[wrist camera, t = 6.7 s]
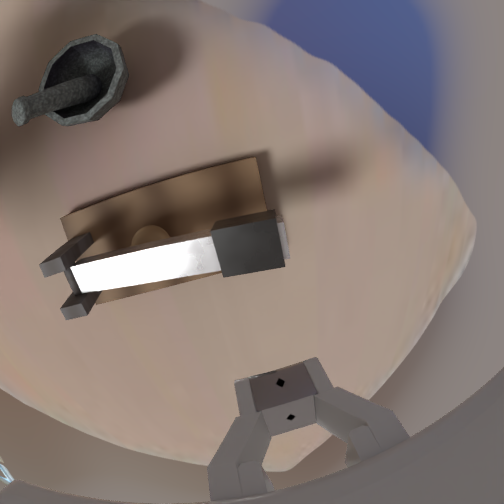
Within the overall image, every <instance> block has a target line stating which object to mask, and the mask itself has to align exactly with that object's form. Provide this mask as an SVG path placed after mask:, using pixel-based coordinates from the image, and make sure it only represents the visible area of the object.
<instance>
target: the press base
mask: <svg viewBox="0 0 504 504" xmlns="http://www.w3.org/2000/svg"><path fill="white" fill-rule="evenodd" d="M263 211H267V208H266V203H265V198H264V193H263V189H262V184H261V179H260V175H259V170H258V166H257V161H256V157H250V158H245V159H241V160H237V161H233V162H228V163H224V164H220V165H216V166H212V167H208V168H205V169H201V170H197V171H194V172H190V173H186V174H183V175H179V176H176V177H173V178H169V179H166V180H163V181H159V182H156V183H153V184H150V185H147V186H144V187H141V188H138V189H135V190H132V191H129V192H126V193H123V194H120V195H117V196H114V197H112V198H109V199H106V200H103V201H101V202H98V203H95V204H93V205H90V206H88V207H85V208H83V209H80V210H78V211H75V212H73V213H70V214H68V215H66V216H64V217H62V218H61V222H62V225H63V228H64V230H65V233H66V236H67V239H68V242H66V243H65V244H64V245H63V246H61V247H60V248H59V249H58V250H56V251H55V252H54V253H53V254H51V255H50V256H49V257H48V258H47V259H45V260H44V261H43V262H42V263H41V264H39V265H40V268H41V270H42V272H43V275H44V277H48V276H51V275H54V274H57V273H60V272H63V271H64V273H65V276H66V278H67V280H68V282H69V284H70V287H71V289H72V291H73V292H72V294H71V295H70V296H69V298H68V299H67V300H66V302H65V303H64V304H63V306H62V307H61V308H60V310H61V311H62V313H63V315H64V317H65V319H66V320H69V319H73V318H78V317H82V316H87V315H88V314H89V312H90V310H91V309H92V307H93V305H94V304H95V303H96V305H97V304H101V303H105V302H109V301H114V300H118V299H122V298H126V297H130V296H133V295H137V294H141V293H145V292H149V291H153V290H157V289H161V288H165V287H169V286H173V285H177V284H181V283H184V282H188V281H192V280H196V279H200V278H204V277H207V276H211V275H215V274H219V273H222V271H216V272H210V273H204V274H198V275H192V276H186V277H180V278H174V279H168V280H162V281H156V282H150V283H144V284H138V285H131V286H125V287H119V288H113V289H106V290H100V291H93V292H87V293H82V292H81V290H80V287H79V285H78V283H77V281H76V279H75V277H74V274H73V272H72V270H71V266H72V265H74V264H75V261H76V262H77V261H79V260H80V259H82V258H86V257H90V256H94V255H98V254H102V253H106V252H110V251H114V250H119V249H123V248H127V247H131V244H132V239H133V237H134V235H135V234H136V232H137V231H138V230H140V229H141V228H143V227H145V226H149V225H155V226H159V227H161V228H162V229H164V230H165V231H166V232H167V233H168V234H169V236H170V238H171V237H175V236H180V235H185V234H189V233H194V232H199V231H203V230H208V229H212V227H213V225H214V223H215V222H216V221H218V220H223V219H228V218H233V217H238V216H243V215H248V214H253V213H258V212H263Z"/></svg>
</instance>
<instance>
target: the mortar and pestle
mask: <svg viewBox="0 0 504 504" xmlns="http://www.w3.org/2000/svg"><path fill="white" fill-rule="evenodd" d="M128 77H129V74H128V70H127V67H126V63H125V60H124V56H123V53H122V50H121V47H120V46H119V45H118V44H117V43H115V42H113V41H111V40H109V39H106V38H104V37H102V36H100V35H97V34H95V35H91V36H87V37H84V38H80V39H77V40H74V41H70V42H69V43H68V44H67V45H66V46H65V47H64V48H63V49H62V50H61V51H60V52H59V53H58V54H57V55H56V56H55V57H54V58H53V59H52V60H51V61H50V62H49V63H48V65H47V68H46V70H45V73H44V76H43V78H42V81H41V84H40V87H39V92H37V93H35V94H33V95H30V96H28V97H25V96H21V97H19V98H17V99H15V100H14V102H13V105H12V118H13V121H14V123H15V124H16V125H17V126H21V125H24V124H26V123H28V121H29V120H30V119H32V118H35V117H37V116H40V115H43V114H45V115H46V116H48V117H49V118H51V119H53V120H54V121H56V122H57V123H59V124H60V125H62V126H72V125H76V124H81V123H86V122H91V121H96V120H99V119H100V118H101V117H102V116H103V115H104V114H105V113H107V112H108V111H109V110H110V109H111V108H112V107H113V106H114V105H115V104H117V103H118V102H119V101H120V99H121V96H122V93H123V90H124V88H125V84H126V82H127V79H128Z"/></svg>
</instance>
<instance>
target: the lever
mask: <svg viewBox="0 0 504 504" xmlns="http://www.w3.org/2000/svg"><path fill="white" fill-rule="evenodd" d="M289 258H290V254H289V249H288V243H287V237H286V232H285V227H284V221H283V217H282V215H279V216H276V213H275V209H273V210H268V211H263V212H258V213H253V214H248V215H243V216H238V217H233V218H228V219H223V220H218V221H216V222H215V223H214V225H213V227H212V229H208V230H203V231H199V232H194V233H189V234H185V235H180V236H175V237H171V238H166V239H162V240H157V241H153V242H149V243H144V244H140V245H136V246H131V247H127V248H123V249H119V250H114V251H110V252H106V253H102V254H98V255H94V256H90V257H86V258H82V259H80V260H79V261H77V262H76V263H75V264H74V265H72V266H71V270H72V272H73V274H74V277H75V279H76V281H77V283H78V285H79V287H80V290H81V292H82V293H87V292H93V291H100V290H106V289H113V288H119V287H125V286H131V285H138V284H144V283H150V282H156V281H162V280H168V279H174V278H180V277H186V276H192V275H198V274H204V273H210V272H216V271H222V274H223V277H229V276H235V275H241V274H247V273H253V272H258V271H264V270H270V269H275V268H281V267H285V262H284V259H289Z"/></svg>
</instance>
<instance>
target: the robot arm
mask: <svg viewBox="0 0 504 504" xmlns="http://www.w3.org/2000/svg"><path fill="white" fill-rule="evenodd" d="M234 385H235V391H236V396H237V402H238V407H239V413H240V416H239V417H236V418H235V420H234V422H233V424H232V425H231V427H230V429H229V431H228V433H227V434H226V436H225V438H224V440H223V442H222V443H221V445H220V447H219V449H218V450H217V452H216V454H215V455H214V457H213V459H212V461H211V462H210V464H209V466H208V468H207V470H208V480H209V490H210V498H211V501H208V502H196V503H174V504H504V367H503V368H502V369H501V371H499V372H498V373H497V374H496V375H495V376H494V377H493V378H492V379H491V380H489V381H488V382H487V383H486V384H485V385H484V386H483V387H481V388H480V389H479V390H478V391H477V392H475V393H474V394H473V395H472V396H470V397H469V398H468V399H467V400H465V401H464V402H463V403H461V404H460V405H459V406H457V407H456V408H455V409H453V410H452V411H450V412H449V413H447V414H446V415H445V416H443V417H442V418H440V419H439V420H437V421H436V422H434V423H433V424H432V425H430V426H428V427H426V428H425V429H423V430H421V431H420V432H419V433H417V434H415V435H413V436H412V437H410V436H409V435H408V434H407V432H406V430H405V429H404V427H403V426H402V424H401V423H400V421H399V420H398V418H397V417H396V415H395V414H394V412H393V411H392V410H390V409H388V408H385V407H383V406H380V405H378V404H376V403H373V402H371V401H369V400H366V399H364V398H362V397H360V396H357V395H355V394H353V393H351V392H348V391H346V390H344V389H342V388H340V387H335V388H334V387H333V385H332V384H331V382H330V380H329V378H328V376H327V374H326V373H325V371H324V369H323V367H322V365H321V363H320V362H319V360H318V358H317V357H314V358H311V359H308V360H305V361H303V362H299V363H296V364H293V365H290V366H287V367H283V368H280V369H277V370H275V371H271V372H267V373H263V374H259V375H255V376H251V377H247V378H243V379H239V380H235V382H234ZM314 423H317V424H318V425H320V426H321V427H323V428H324V429H326V430H327V431H329V432H330V433H332V434H333V435H335V436H336V437H338V438H340V439H341V440H343V441H344V442H346V443H348V444H347V451H346V458H345V463H346V465H347V468H345V469H343V470H340V471H337V472H335V473H332V474H329V475H326V476H324V477H321V478H318V479H315V480H311V481H308V482H305V483H302V484H298V485H295V486H291V487H287V488H284V489H279V490H274V487H273V484H272V482H271V481H270V479H269V477H268V476H267V474H266V472H265V471H264V469H263V467H262V462H263V459H264V457H265V454H266V451H267V449H268V446H269V443H270V441H271V436H275V435H278V434H282V433H285V432H288V431H291V430H294V429H298V428H301V427H305V426H308V425H311V424H314ZM0 504H149V503H132V502H120V501H119V502H118V501H110V500H102V499H96V498H89V497H84V496H78V495H73V494H69V493H64V492H60V491H56V490H52V489H48V488H45V487H41V486H38V485H35V484H32V483H28V482H26V481H22V480H14V481H12V482H11V483H10V484H8V485H7V486H6V487H5V488H4V489H3V490H2V491H1V492H0ZM150 504H152V503H150Z"/></svg>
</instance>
